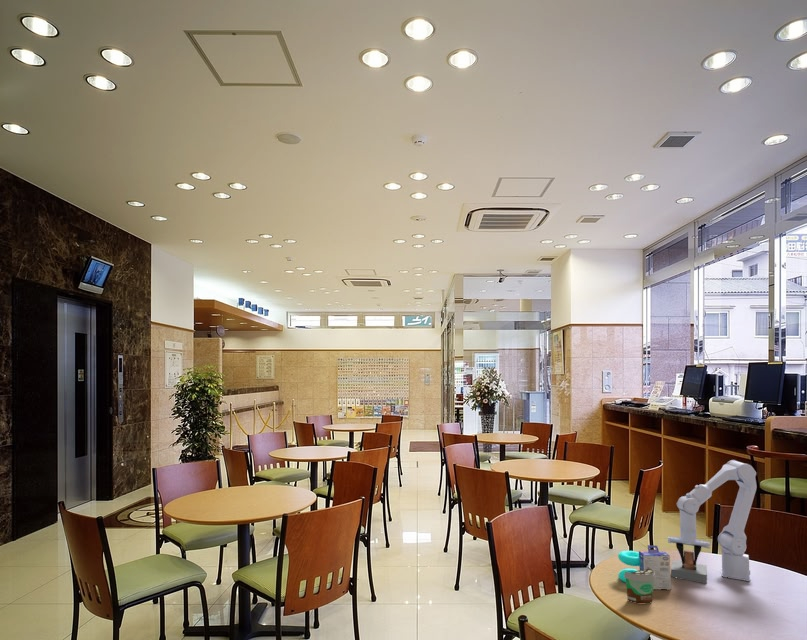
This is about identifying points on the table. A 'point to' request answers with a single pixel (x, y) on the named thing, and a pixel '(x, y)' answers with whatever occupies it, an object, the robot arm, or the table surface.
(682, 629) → the table surface
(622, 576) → the donuts
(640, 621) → the table surface
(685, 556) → the peg
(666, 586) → the ink cartridge box
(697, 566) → the socket block
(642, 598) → the food container
